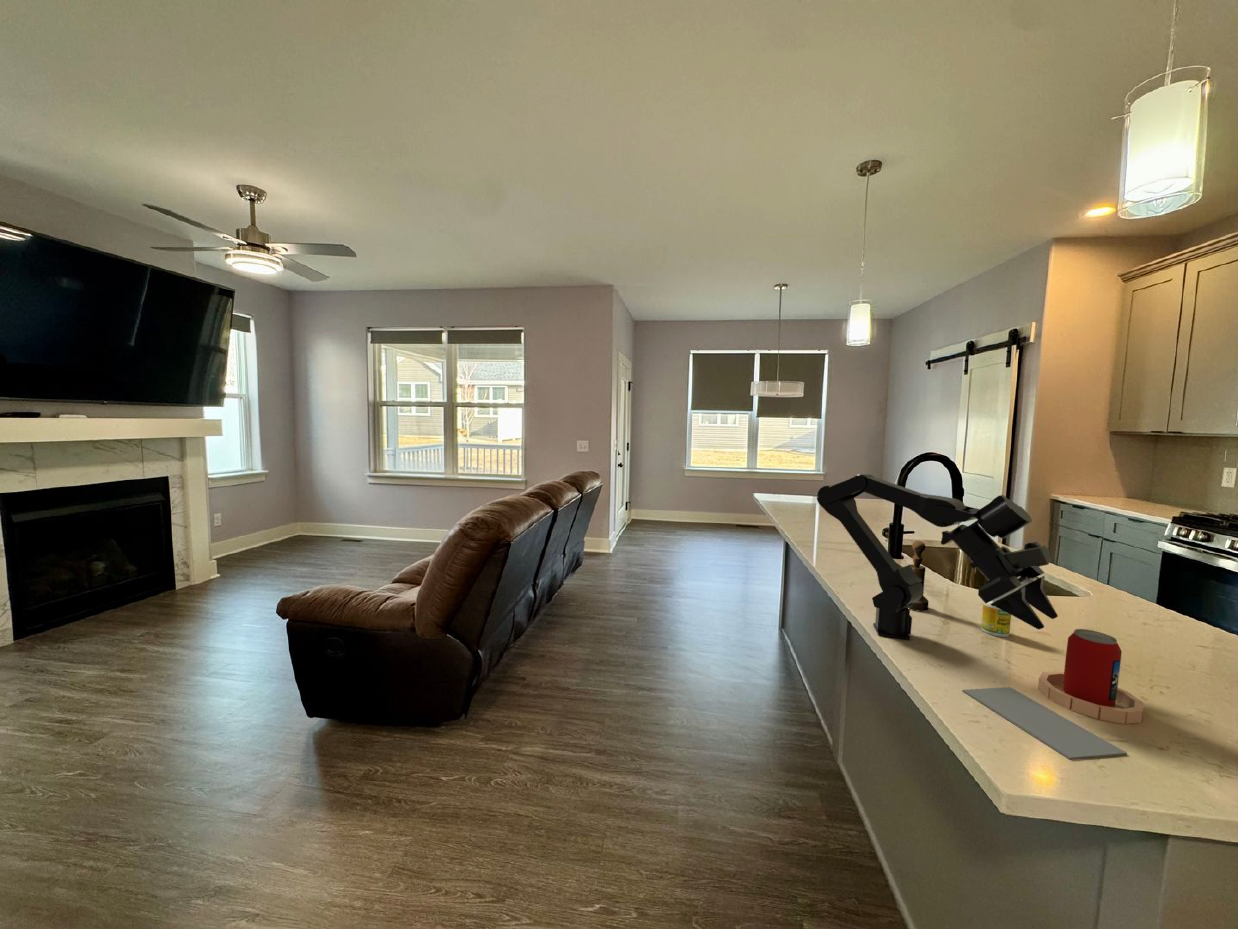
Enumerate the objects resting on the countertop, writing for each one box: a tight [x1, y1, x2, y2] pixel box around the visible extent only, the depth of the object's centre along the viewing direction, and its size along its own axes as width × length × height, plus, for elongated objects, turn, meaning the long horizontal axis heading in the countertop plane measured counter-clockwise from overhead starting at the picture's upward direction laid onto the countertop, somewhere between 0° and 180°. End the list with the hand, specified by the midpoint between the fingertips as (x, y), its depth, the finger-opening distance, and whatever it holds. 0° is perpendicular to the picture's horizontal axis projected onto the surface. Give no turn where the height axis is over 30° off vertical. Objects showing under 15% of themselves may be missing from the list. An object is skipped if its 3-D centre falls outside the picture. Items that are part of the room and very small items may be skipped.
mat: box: [961, 686, 1128, 760], centre depth 79 cm, size 18×10×1 cm, turn 9°
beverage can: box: [1062, 628, 1122, 708], centre depth 85 cm, size 7×7×12 cm
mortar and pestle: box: [907, 540, 929, 612], centre depth 129 cm, size 7×6×18 cm
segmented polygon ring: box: [1037, 670, 1144, 725], centre depth 85 cm, size 13×13×2 cm
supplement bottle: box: [980, 599, 1012, 638], centre depth 114 cm, size 5×5×10 cm
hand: (1048, 623), depth 89 cm, fingers open, 9 cm apart
